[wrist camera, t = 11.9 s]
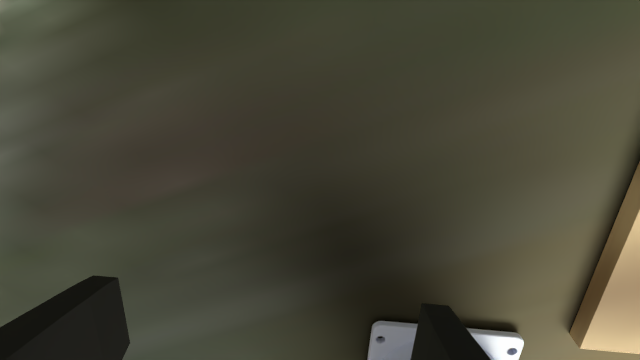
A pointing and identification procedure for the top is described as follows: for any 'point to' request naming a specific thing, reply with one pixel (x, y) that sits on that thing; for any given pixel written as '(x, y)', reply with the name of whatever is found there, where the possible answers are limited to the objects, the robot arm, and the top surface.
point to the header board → (615, 286)
